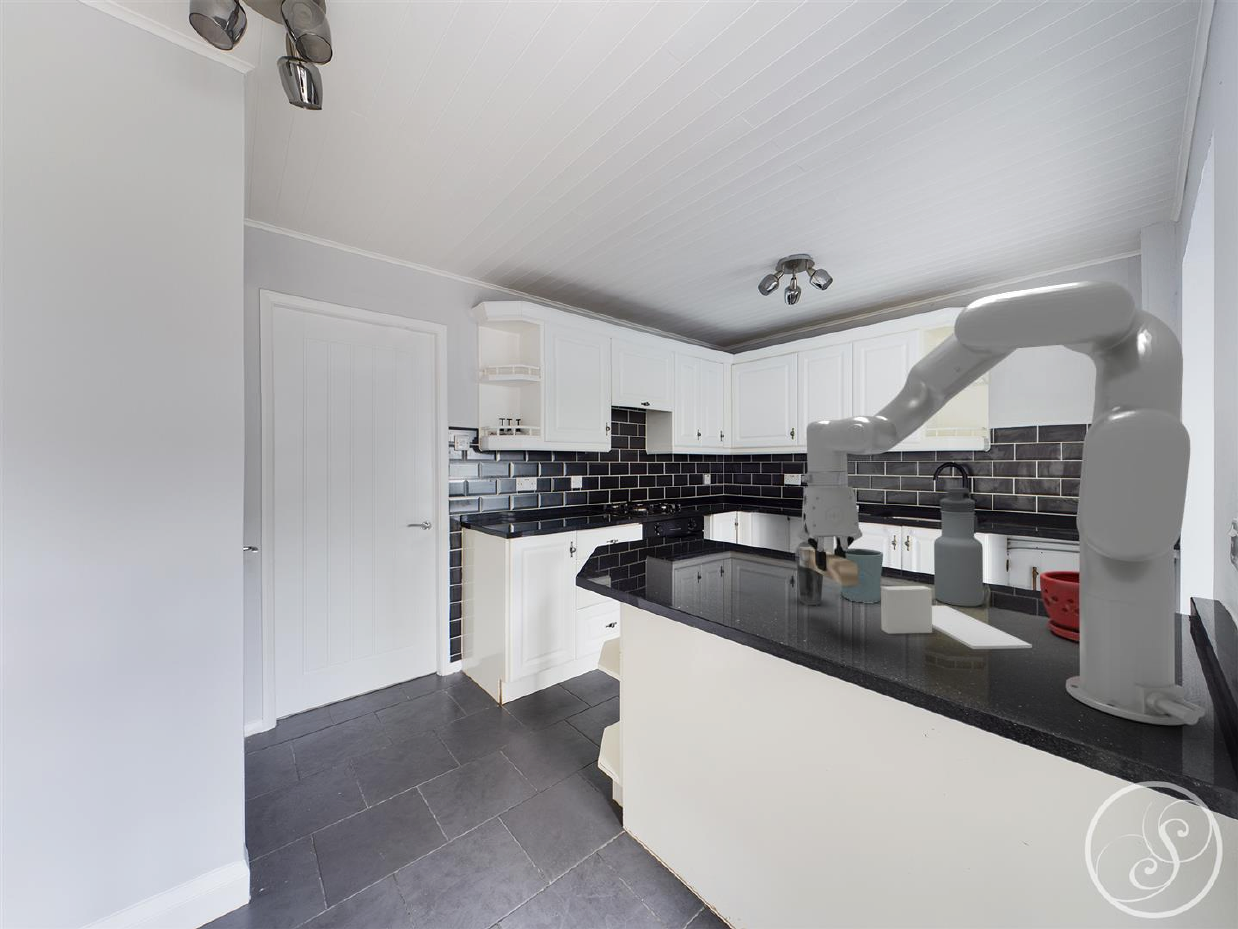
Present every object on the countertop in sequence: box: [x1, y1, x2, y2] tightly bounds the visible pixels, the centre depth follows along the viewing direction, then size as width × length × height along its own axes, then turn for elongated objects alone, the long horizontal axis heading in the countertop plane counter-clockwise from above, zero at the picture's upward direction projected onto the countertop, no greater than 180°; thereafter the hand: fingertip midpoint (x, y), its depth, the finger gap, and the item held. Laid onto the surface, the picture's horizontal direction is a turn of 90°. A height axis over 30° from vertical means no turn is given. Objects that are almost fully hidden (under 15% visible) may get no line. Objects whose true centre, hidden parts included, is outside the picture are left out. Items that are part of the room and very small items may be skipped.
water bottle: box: [933, 486, 984, 608], centre depth 119 cm, size 10×10×28 cm
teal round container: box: [841, 547, 884, 602], centre depth 123 cm, size 10×10×12 cm
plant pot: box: [1039, 570, 1080, 643], centre depth 95 cm, size 13×13×12 cm
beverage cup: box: [794, 534, 824, 606], centre depth 120 cm, size 7×7×20 cm
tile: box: [880, 585, 933, 635], centre depth 100 cm, size 3×9×9 cm, turn 90°
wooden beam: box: [799, 547, 858, 586], centre depth 101 cm, size 19×5×4 cm, turn 0°
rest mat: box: [932, 605, 1033, 650], centre depth 102 cm, size 24×11×1 cm, turn 0°
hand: (830, 568), depth 100 cm, fingers closed on wooden beam, 3 cm apart
